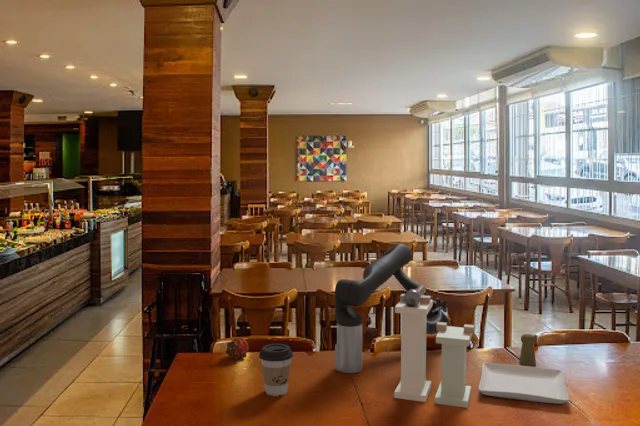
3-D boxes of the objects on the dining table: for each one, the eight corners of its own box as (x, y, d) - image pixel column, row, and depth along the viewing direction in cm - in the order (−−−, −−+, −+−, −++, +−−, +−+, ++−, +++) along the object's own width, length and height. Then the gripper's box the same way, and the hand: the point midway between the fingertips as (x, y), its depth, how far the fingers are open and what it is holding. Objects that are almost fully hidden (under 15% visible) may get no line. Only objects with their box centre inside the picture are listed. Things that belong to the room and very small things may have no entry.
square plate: (562, 379, 199) (562, 368, 198) (569, 411, 173) (569, 399, 173) (482, 370, 207) (482, 360, 207) (477, 399, 182) (478, 388, 181)
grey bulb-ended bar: (419, 308, 178) (419, 292, 178) (403, 306, 180) (403, 291, 180) (428, 294, 198) (429, 279, 197) (414, 293, 199) (414, 278, 199)
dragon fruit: (231, 367, 215) (239, 361, 227) (249, 354, 214) (256, 349, 226) (219, 348, 216) (227, 343, 227) (237, 336, 215) (244, 331, 227)
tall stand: (394, 397, 182) (395, 300, 180) (402, 383, 195) (403, 291, 192) (425, 402, 179) (426, 302, 176) (431, 386, 191) (432, 294, 189)
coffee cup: (267, 401, 180) (266, 355, 179) (254, 389, 190) (253, 345, 189) (299, 394, 185) (299, 350, 184) (285, 382, 195) (284, 340, 194)
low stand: (432, 403, 178) (433, 330, 176) (437, 387, 191) (439, 319, 189) (470, 408, 174) (471, 333, 172) (473, 392, 187) (474, 322, 185)
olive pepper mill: (537, 366, 210) (538, 337, 209) (520, 365, 212) (521, 336, 211) (534, 361, 216) (535, 332, 215) (517, 359, 217) (518, 332, 216)
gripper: (413, 301, 225) (407, 288, 211) (450, 304, 220) (446, 291, 206) (411, 319, 222) (405, 308, 208) (448, 323, 217) (444, 311, 203)
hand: (425, 300), depth 207 cm, fingers open, 8 cm apart
